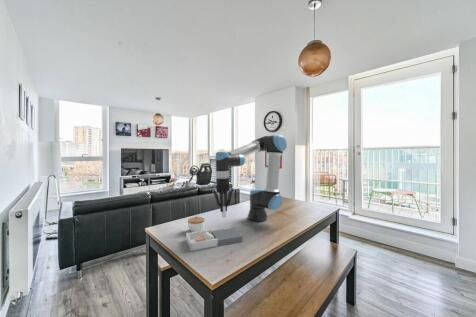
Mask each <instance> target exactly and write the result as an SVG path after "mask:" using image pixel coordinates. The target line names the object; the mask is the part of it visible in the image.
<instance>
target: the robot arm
mask: <svg viewBox="0 0 476 317" xmlns="http://www.w3.org/2000/svg"><path fill="white" fill-rule="evenodd" d="M287 146H288V144H287V140H286V139H285V136H283V135H281V134H278V135H277V134H274V135H264V136H261V137H259V138H257V139H254V140H252V141H251V142H250V143H248V144H245V145H242V146H240V147H237V148H235V149H233V150H230V151H217V152H216V153H215V169H216V170H215V176H216V178H215V179H216V187H215V188H214V189H213V190H211V192H212V194H213V195H214V199H215V202H216V206H218V207H219V210H220V212H221V217H222V218H223V219H224V218H227V215H226V212H228V206H230V205H231V201H232V200H231V199H232V196H233V192H234V188H232V187H231V186H230V178H229V177H230V170H229V169H230V168H233V167H243V166H244V165H245V162H246V158H245V157H247V156H250V155H251V154H254V153H257V154H258V153H261V152H266V154H267V156H268V157H267V171H266V183H265V184H266V185H265V186H266V187H264V188H255V189H251V190H250V192H249V211H248V213H247V219H248V221H251V222H257V223H258V222H259V223H261V222H265V221H267V220H268V214H267V211H266V209H268V210H271V211H278V210H279V209H280V208H281V207H282V205H283V202H284V201H283V195H281V194H280V193H281V192H280V190H279V180H280V179H279V178H280V165H281V156H282V155H283V154H284V151H286V149H287ZM218 193H219V196H218Z"/></svg>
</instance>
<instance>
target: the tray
mask: <svg viewBox="0 0 476 317" xmlns="http://www.w3.org/2000/svg"><path fill="white" fill-rule="evenodd" d="M211 231H212V229H205V230H201V231H198V232H192V231H191V232H186V233H185V241H186V243H187V247H188V249H189V251H190V252H193V251H194V252H195V251H199V250H205V249H211V248H216V247H219V246H218V239H212V240H207V239H206V241H200V242H195V237H198V236H203V235H204V233H205V232H208V233H210V234H211Z"/></svg>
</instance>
